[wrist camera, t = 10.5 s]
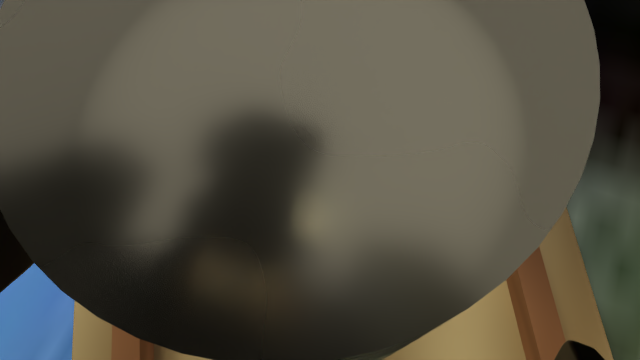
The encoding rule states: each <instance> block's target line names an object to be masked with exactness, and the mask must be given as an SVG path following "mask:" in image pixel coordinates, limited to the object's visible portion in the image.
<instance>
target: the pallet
mask: <svg viewBox="0 0 640 360" xmlns="http://www.w3.org/2000/svg"><path fill="white" fill-rule="evenodd" d="M568 340H574V341H576V342H579V343H582V344H585V345H587V346H590V347H592V348H594V349H595V350H597V352H598V353H599V354H600V355H601V356H602V357H603V358H604V359H605V360H613V356H612V353H611V350H610V347H609V344H608V340H607V337H606V334H605V331H604V327H603V324H602V321H601V318H600V314H599V311H598V308H597V305H596V301H595V298H594V295H593V292H592V288H591V285H590V282H589V279H588V275H587V272H586V269H585V266H584V262H583V259H582V256H581V253H580V249H579V246H578V243H577V240H576V236H575V233H574V230H573V227H572V224H571V220H570V217H569V214H568V211H567V207H566V208H565V210H564V212H563V213H562V215H561V216H560V218H559V219H558V220H557V222H556V223H555V225H554V226H553V227H552V229H551V230H550V232H549V233H548V234H547V236H546V237H545V238H544V240H543V241H542V243H541V244H540V245H539V247H538V248H537V249H536V250H535V251H534V252H533V253H532V254H531V255H530V256H529V257H528V258H527V259H526V260H525V261H524V262H523V263H522V264H521V265H520V266H519V267H518V268H517V269H516V270H515V271H514V272H513V273H512V275H511V276H510V277H509V278H508V279H507V280H505V281H504V282H503V283H501V284H500V285H499V286H497V287H496V288H495V289H494V290H492V291H491V292H490V293H488V294H487V295H486V296H484V297H483V298H482V299H480V300H479V301H478V302H476V303H475V304H474V305H472V306H471V307H470V308H468V309H467V310H465V311H463V312H462V313H460V314H458V315H457V316H455V317H453V318H452V319H450V320H449V321H447V322H445V323H444V324H442V325H440V326H439V327H437V328H435V329H434V330H432V331H430V332H429V333H427V334H425V335H424V336H422V337H420V338H419V339H417V340H415V341H414V342H412V343H410V344H409V345H407V346H405V347H404V348H402V349H400V350H399V351H397V352H395V353H394V354H392V355H391V356H389V357H387V358H386V359H384V360H554V359H555V357H556V355H557V354H558V352H559V350H560V348H561V347H562V345H563V344H564V343H565V342H566V341H568ZM72 360H212V359H207V358H202V357H197V356H191V355H186V354H181V353H179V352H176V351H173V350H170V349H167V348H164V347H161V346H159V345H156V344H153V343H150V342H147V341H144V340H141V339H139V338H136V337H134V336H132V335H131V334H129V333H127V332H125V331H123V330H121V329H119V328H117V327H115V326H113V325H112V324H110V323H108V322H106V321H104V320H102V319H100V318H98V317H96V316H95V315H94V314H92V313H91V312H90V311H88V310H87V309H86V308H84V307H83V306H82V305H80V304H79V303H78V302H76V301H75V305H74V326H73V347H72Z"/></svg>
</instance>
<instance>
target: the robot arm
mask: <svg viewBox="0 0 640 360" xmlns="http://www.w3.org/2000/svg"><path fill="white" fill-rule="evenodd" d="M33 264H34V262H33V261H32V260H31V258H30V257H29V255H28V254H27V252H26V251H25V250H24V248H23V247H22V245H21V244H20V243H19V241H18V240H17V238H16V237H15V235H14V234H13V233H12V231H11V230H10V228H9V226H8V224H7V222H6V220H5V218H4V216H3V214H2V212H1V210H0V292H2V291H3V290H4V289H5V288H6V287H7V286H9V285H10V284H11V283H12V282H13V281H15V280H16V279H17V278H18V277H19V276H20V275H22V274H23V273H24V272H25V271H26V270H27V269H28V268H29V267H31V266H32V265H33ZM554 360H605V359H604V358H603V357H602V356H601V355H600V354H599V353H598V352H597V350H595V349H594V348H592V347H590V346H587V345H585V344H582V343H579V342H576V341H574V340H568V341H566V342H565V343H564V344H563V345H562V347H561V348H560V350H559V352H558V354H557V355H556V357H555V359H554Z"/></svg>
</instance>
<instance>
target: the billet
mask: <svg viewBox="0 0 640 360" xmlns="http://www.w3.org/2000/svg"><path fill="white" fill-rule="evenodd" d="M599 103H600V63H599V57H598V51H597V45H596V39H595V33H594V28H593V25H592V22H591V19H590V16H589V13H588V10H587V7H586V4H585V1H584V0H5V1H4V3H3V5H2V7H1V9H0V210H1V212H2V214H3V216H4V218H5V220H6V222H7V224H8V226H9V228H10V230H11V231H12V233H13V234H14V235H15V237H16V238H17V240H18V241H19V243H20V244H21V245H22V247H23V248H24V250H25V251H26V252H27V254H28V255H29V257H30V258H31V260H32V261H33V262H34V263H35V264H36V265H37V266H38V267H39V268H40V269H41V270H42V271H43V272H44V273H45V274H46V275H47V276H48V277H49V278H50V279H51V280H52V281H53V282H54V283H55V284H56V285H57V286H58V287H59V288H60V290H61V291H63V292H64V293H65V294H67V295H68V296H70V297H71V298H72V299H74V300H75V301H76V302H78V303H79V304H80V305H82V306H83V307H84V308H86V309H87V310H88V311H90V312H91V313H92V314H94V315H95V316H96V317H98V318H100V319H102V320H104V321H106V322H108V323H110V324H112V325H113V326H115V327H117V328H119V329H121V330H123V331H125V332H127V333H129V334H131V335H132V336H134V337H136V338H139V339H141V340H144V341H147V342H150V343H153V344H156V345H159V346H161V347H164V348H167V349H170V350H173V351H176V352H179V353H181V354H186V355H191V356H197V357H202V358H207V359H212V360H384V359H386V358H387V357H389V356H391V355H392V354H394V353H395V352H397V351H399V350H400V349H402V348H404V347H405V346H407V345H409V344H410V343H412V342H414V341H415V340H417V339H419V338H420V337H422V336H424V335H425V334H427V333H429V332H430V331H432V330H434V329H435V328H437V327H439V326H440V325H442V324H444V323H445V322H447V321H449V320H450V319H452V318H453V317H455V316H457V315H458V314H460V313H462V312H463V311H465V310H467V309H468V308H470V307H471V306H472V305H474V304H475V303H476V302H478V301H479V300H480V299H482V298H483V297H484V296H486V295H487V294H488V293H490V292H491V291H492V290H494V289H495V288H496V287H497V286H499V285H500V284H501V283H503V282H504V281H505V280H507V279H508V278H509V277H510V276H511V275H512V273H513V272H514V271H515V270H516V269H517V268H518V267H519V266H520V265H521V264H522V263H523V262H524V261H525V260H526V259H527V258H528V257H529V256H530V255H531V254H532V253H533V252H534V251H535V250H536V249H537V248H538V247H539V245H540V244H541V243H542V241H543V240H544V238H545V237H546V236H547V234H548V233H549V232H550V230H551V229H552V227H553V226H554V225H555V223H556V222H557V220H558V219H559V218H560V216H561V215H562V213H563V212H564V210H565V208H566V206H567V204H568V202H569V200H570V198H571V196H572V194H573V192H574V190H575V188H576V186H577V184H578V182H579V180H580V179H581V177H582V174H583V171H584V168H585V165H586V162H587V159H588V155H589V152H590V149H591V146H592V143H593V140H594V136H595V129H596V123H597V116H598V110H599Z"/></svg>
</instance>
